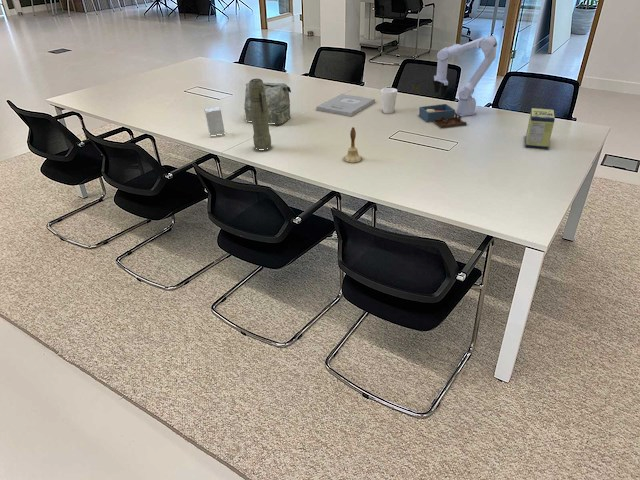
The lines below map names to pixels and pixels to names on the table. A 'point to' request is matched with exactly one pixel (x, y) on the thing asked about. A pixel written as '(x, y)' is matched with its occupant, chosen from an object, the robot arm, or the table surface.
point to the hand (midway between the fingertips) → (439, 94)
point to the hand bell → (352, 149)
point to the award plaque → (345, 104)
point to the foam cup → (388, 99)
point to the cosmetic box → (214, 121)
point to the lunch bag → (272, 102)
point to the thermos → (259, 115)
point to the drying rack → (450, 122)
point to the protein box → (540, 128)
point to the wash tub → (432, 116)
